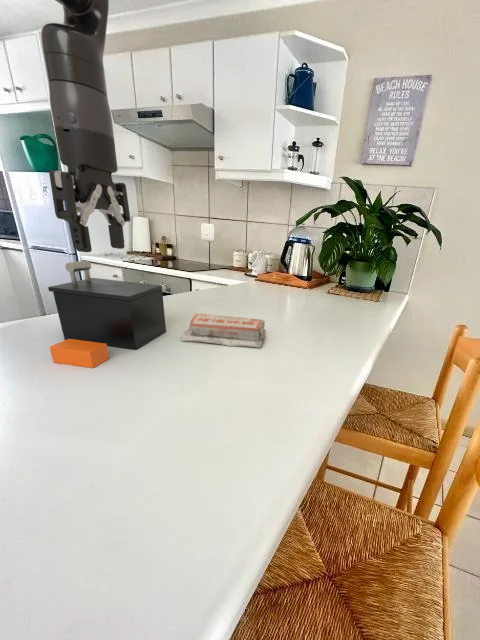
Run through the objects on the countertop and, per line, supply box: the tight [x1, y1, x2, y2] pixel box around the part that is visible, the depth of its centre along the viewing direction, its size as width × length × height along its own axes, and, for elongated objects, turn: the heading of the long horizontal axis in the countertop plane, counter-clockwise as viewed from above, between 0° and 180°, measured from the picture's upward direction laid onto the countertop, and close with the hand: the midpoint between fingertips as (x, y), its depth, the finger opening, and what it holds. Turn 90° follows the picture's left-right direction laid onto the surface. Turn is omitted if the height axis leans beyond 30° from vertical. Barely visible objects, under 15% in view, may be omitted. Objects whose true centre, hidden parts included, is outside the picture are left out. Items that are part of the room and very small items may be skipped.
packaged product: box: [179, 313, 267, 348], centre depth 74 cm, size 18×5×10 cm
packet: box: [49, 339, 110, 369], centre depth 58 cm, size 8×4×3 cm, turn 82°
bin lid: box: [47, 260, 163, 301], centre depth 65 cm, size 16×13×5 cm
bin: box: [52, 288, 167, 351], centre depth 69 cm, size 16×13×10 cm
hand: (102, 249), depth 54 cm, fingers open, 8 cm apart
